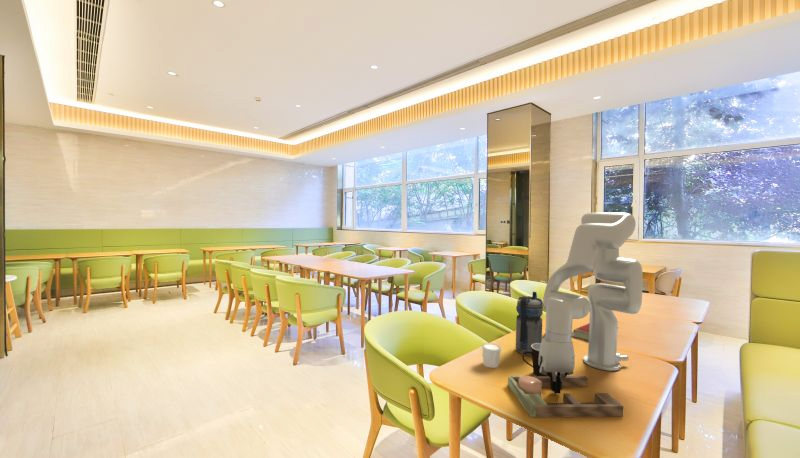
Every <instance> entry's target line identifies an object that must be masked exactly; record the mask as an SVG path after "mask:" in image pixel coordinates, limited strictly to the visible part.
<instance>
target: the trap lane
mask: <svg viewBox="0 0 800 458" xmlns="http://www.w3.org/2000/svg"><path fill="white" fill-rule="evenodd" d="M522 376H524V375H522V374H521V375H518V374H517V375H511V376H509V375H508V376H507V386H508V388H510V390H511V392H512V393H513V394H514V395H515V397H516V399H517V400H518V401H519V403H520V404H521V405H522V406H523V408H524V410H525V411H526V412H527V414H529V416H530V418H578V417H579V418H584V417H585V418H588V417H589V418H591V417H598V418H599V417H600V418H601V417H604V418H605V417H624V407H625V406H624V405H623V404H622V403H620V402H619V401H618V400H617V399H615V398H614V397H613V396H612V395H610V394H609V393H608V392H601V393H600V392H597V393H596V392H595V393H594V402H590V401H589V402H583V401H582V402H579V401H578V400H577V399H576V398H575V397H574V396H573V395H572V393H567V392H566V393H563V395H562V397H563V398H562V402H546V401H545V400H544V399H543V397H542V396H541V397H540V395H539V394H525V393H524V391H523V390H522V389H521V388H520V386H519V385H518V384H519V378H520V377H522ZM530 376H531V375H530ZM531 377H535V378H537V379H539V380H540V381H541V382H542V387H548V388H550V377H549V376H535V375H532V376H531ZM588 384H589V377H588V376H587V375H567V376H566V377H565V378H564V381H562V387H588V386H589V385H588Z"/></svg>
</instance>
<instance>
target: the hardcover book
mask: <svg viewBox="0 0 800 458" xmlns="http://www.w3.org/2000/svg"><path fill="white" fill-rule="evenodd" d="M572 332H574V334H575V336H574V337H575V338H579V339H582V340H586V341H589V323H586V324H583V325H581V326H579V327H577V328H574V329H573V330H572Z"/></svg>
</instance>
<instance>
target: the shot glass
mask: <svg viewBox="0 0 800 458" xmlns="http://www.w3.org/2000/svg"><path fill="white" fill-rule="evenodd" d="M481 348H482V358H483V359H482V363H483V365H484V366H485V367H487V368H494V369H496V368H498V367H499V365H500V356H501V349H502V347H501V346H500V345H498V344H494V343H484V344H483V345H482V347H481Z"/></svg>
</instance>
